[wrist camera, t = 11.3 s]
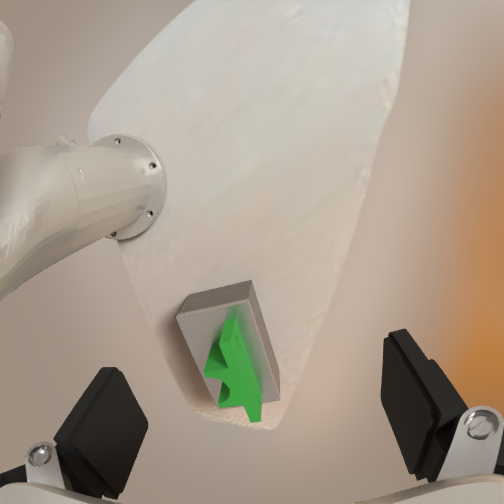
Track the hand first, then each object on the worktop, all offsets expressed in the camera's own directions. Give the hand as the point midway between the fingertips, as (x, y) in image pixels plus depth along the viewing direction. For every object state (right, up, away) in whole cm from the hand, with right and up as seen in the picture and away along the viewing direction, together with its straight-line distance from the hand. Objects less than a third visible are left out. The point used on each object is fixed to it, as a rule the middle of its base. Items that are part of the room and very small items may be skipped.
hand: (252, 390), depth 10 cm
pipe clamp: (-2, -8, +23) cm, 25 cm away
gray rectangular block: (-2, -6, +29) cm, 30 cm away
